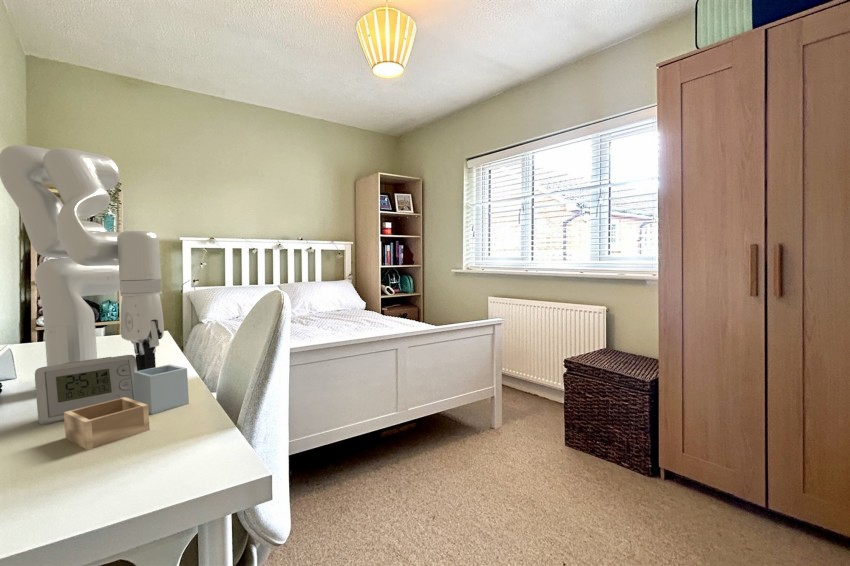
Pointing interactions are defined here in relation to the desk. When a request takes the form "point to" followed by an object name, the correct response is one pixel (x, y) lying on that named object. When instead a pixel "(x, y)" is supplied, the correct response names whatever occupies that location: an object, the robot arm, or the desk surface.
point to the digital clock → (82, 385)
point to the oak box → (106, 422)
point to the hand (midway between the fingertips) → (146, 371)
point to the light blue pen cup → (161, 387)
